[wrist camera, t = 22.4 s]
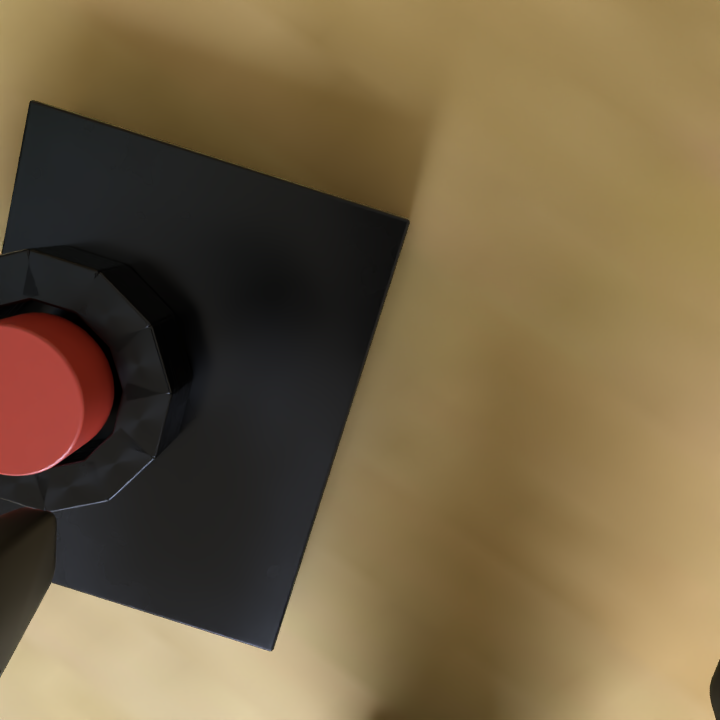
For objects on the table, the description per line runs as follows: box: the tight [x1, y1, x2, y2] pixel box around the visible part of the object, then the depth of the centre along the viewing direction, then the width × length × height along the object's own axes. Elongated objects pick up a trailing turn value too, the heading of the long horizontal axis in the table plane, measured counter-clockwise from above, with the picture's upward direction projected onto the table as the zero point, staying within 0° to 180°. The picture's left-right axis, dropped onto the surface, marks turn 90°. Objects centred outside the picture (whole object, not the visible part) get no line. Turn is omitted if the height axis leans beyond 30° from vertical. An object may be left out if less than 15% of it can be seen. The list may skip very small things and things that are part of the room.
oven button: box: [0, 312, 114, 476], centre depth 16 cm, size 4×4×2 cm
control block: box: [0, 100, 410, 651], centre depth 19 cm, size 13×11×4 cm
